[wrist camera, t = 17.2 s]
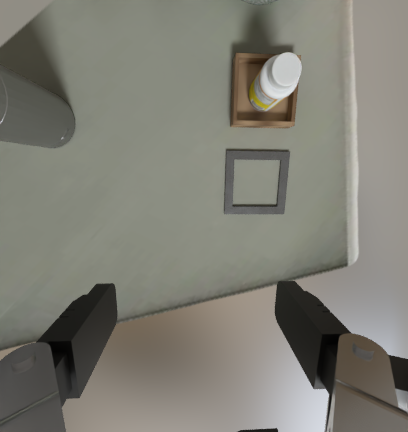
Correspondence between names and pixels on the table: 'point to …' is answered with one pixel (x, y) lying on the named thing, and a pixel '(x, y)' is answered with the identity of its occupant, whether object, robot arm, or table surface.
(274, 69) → the supplement bottle
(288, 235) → the table surface
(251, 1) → the planter
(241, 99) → the tray
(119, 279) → the table surface
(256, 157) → the grey square frame
